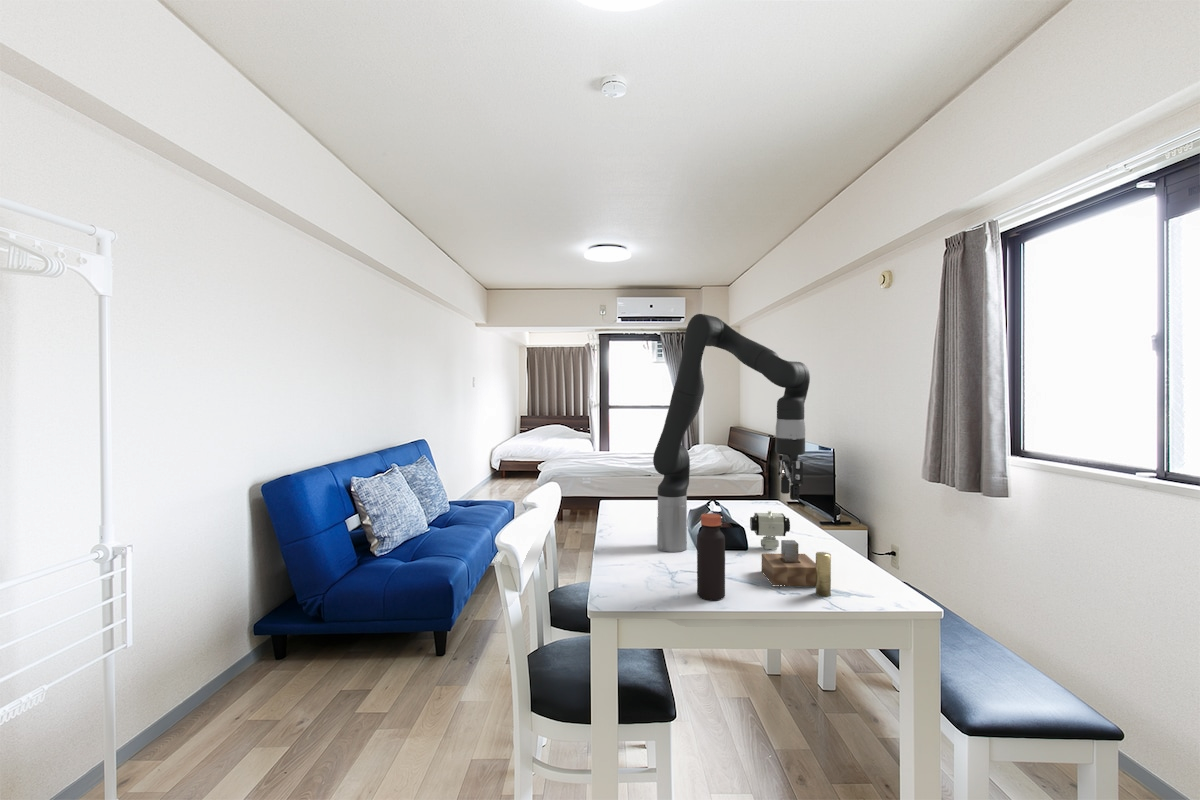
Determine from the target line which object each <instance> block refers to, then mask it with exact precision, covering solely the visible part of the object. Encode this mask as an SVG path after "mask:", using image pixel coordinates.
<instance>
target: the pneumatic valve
mask: <svg viewBox="0 0 1200 800" xmlns="http://www.w3.org/2000/svg"><path fill="white" fill-rule="evenodd" d="M749 528H750V531H751V532H754V534H755V535H756V536H761V537H762V539H760V546H761V547H762V548H763V549H764V550H765V549H776V550H777V549H778V548H779V547H780V546H779V545H780V544H779V543H780V542H779V539H776V537H786V534H787V533H789V532H790V531H791V521H790V517H786V515H785V514H784V513H778V512H776V513H775V512H772V510H768V511H767V512H754V515H753V516H750V518H749Z"/></svg>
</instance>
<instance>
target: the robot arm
mask: <svg viewBox="0 0 1200 800" xmlns="http://www.w3.org/2000/svg"><path fill="white" fill-rule="evenodd" d="M683 341H684V342H683V346H682V347H683V348H682V353H681V358H680V363H679V368H678V372H677V376H676V380H675V382H674V383H675V384H674V386H673V390H672V393H671V398H670V403H669V406H668V409H667V410H668V411H667V414H666V417H665V420H664V425H663V428H662V431H661V433H660V437H659V439H658V442H657V445H656V447H655V450H654V453H653V457H652V458H653V459H652V464H653V466H654V469H655V471H656V472H657V473H659V474H660V475H663V479H662V481H661V482H660V484H658V486H657V517H656V524H657V525H656V526H657V527H656V531H657V532H656V538H657V541H656V542H657V543H656V545H657V550H658V551H664V552H667V553H668V552H670V553H676V552H683V551H686V550H687V548H688V547H687V546H688V541H687V540H688V537H687V535H688V533H687V531H688V528H687V527H688V524H687V523H688V519H687V518H688V517H687V516H688V512H687V509H688V506H687V505H688V504H687V503H688V502H687V498H688V496H687V495H688V494H687V493H688V492H687V491H688V487H689V485H690V470H691V460H690V454H689V452H688V449H687V448H686V447H685V446H684V445H682V442H683V438H684V435H686V432H687V430H688V429H689V427H690V425H691V424H692V423H693V421H694V419H695V418H696V416H697V414H698V413H699V409H700V407H701V404H702V399H703V396H704V391H705V384H704V383H705V382H704V381H705V380H704V376H703V371H702V370H703V369H702V360H703V355H704V352H705V348H706V347H714V348H717V349H718V348H719V349H721V350H723V351H726V352H729V353H731V354H732V355H733V356H734V357H735V358H737V360H739V362H740V363H742V364H744V365H745V366H747V367H748V368H750V369H752V370H754V371H756V372H758V373H760V374H762V376H764V377H765V378H766V379H767V380H768V381H770V383H772V384H774V385H776V386H778V387H780V388H784V393H783V396H781V397H780V398H778V399H777V402H776V424H775V453H776V455H778V457H777V458H778V461H777V462H778V463H777V464H778V465H777V466H778V467H777V476H778V477H779V479H780V493H781V494H783V495H784V494H786V495H787V494H789V499H790V500H792V501H799V500H800V486H801V485H803V484H804V461H802V460H799V456H801V455H802V456H803V455H805V454H806V423H805V422H806V421H805V402H806V399H807V396H808V392H809V387H810V381H811V375H810V371H809V368H808V366H807V365H806V364H805V363H803V362H801V361H790V360H786V359H783V358H781V357H779V355H778V353H777V352H776V351H774V350H773V349H770V348H769V347H766V346H765V345H763V344H761V343H759V342H756V341H755V340H752V339H750V338H747V337H746V336H744V335H743V334H741V333H739V332H738V331H736V330H735V329H733V328H732V327H731V326H729V325H728V324H727V323H726V322H724V321H723V319H720V318H719V317H717V316H715V315H714V316H712V315H709V314H705V313H697V314H695V315H693V316H692V317H691V318H690V319H689V321H688V323H687V325H686V329H685V336H684V340H683Z"/></svg>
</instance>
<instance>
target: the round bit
mask: <svg viewBox="0 0 1200 800" xmlns="http://www.w3.org/2000/svg"><path fill="white" fill-rule="evenodd" d="M815 563H816V587H815V595H817V596H819V597H823V598H824V597H826V598H827V597H831V594H832V590H831V588H832V586H831V585H832V578H831V577H832V576H831V575H832V574H831V573H832V564H831V563H832V554H831V553H830V552H827V551H826V552H825V551H817V552H815Z"/></svg>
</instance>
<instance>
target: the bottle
mask: <svg viewBox="0 0 1200 800" xmlns="http://www.w3.org/2000/svg"><path fill="white" fill-rule="evenodd" d="M700 526H701V528H702V529H701V530H700V531H699V532H698V533H697V535H696V578H697V580H696V581H697V582H696V584H697V585H696V586H697V587H696V592H697V593H696V594H697V597H699V598H701V599H703V600H706V601H719V600H722V599H724V598H725V596H726V537H725V534H724V533H723V532H722V531H721V529H720V528H721V526H722V515H720V514H718V513H714V512H713V513H712V512H711V513H709V512H707V513H701V515H700Z"/></svg>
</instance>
